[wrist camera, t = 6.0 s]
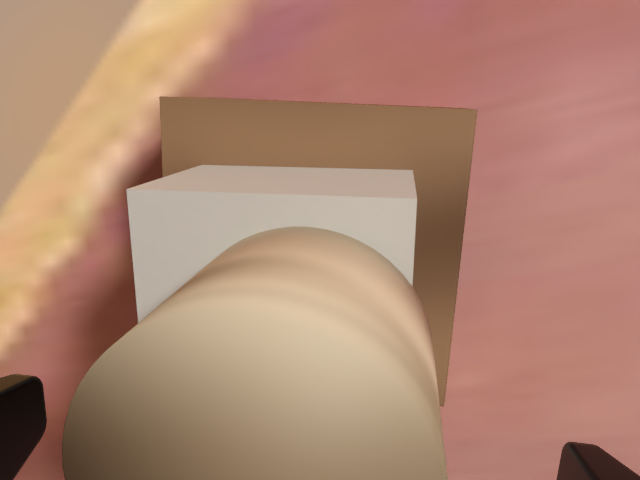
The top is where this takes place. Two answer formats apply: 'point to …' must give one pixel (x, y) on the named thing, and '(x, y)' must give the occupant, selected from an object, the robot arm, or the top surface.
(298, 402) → the birch puck
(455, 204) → the walnut slab
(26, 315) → the top surface
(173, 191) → the grey block
